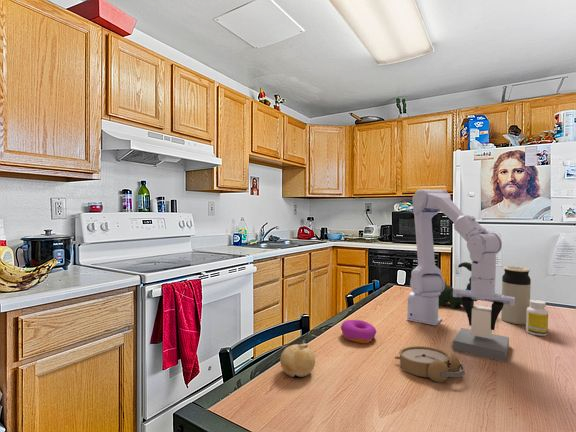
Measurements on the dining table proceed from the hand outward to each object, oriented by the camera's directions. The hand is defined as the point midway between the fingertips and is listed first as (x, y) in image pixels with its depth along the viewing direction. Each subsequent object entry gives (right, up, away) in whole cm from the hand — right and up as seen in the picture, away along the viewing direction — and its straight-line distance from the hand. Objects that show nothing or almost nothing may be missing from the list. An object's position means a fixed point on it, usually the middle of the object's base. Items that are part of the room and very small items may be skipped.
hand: (481, 326), depth 94 cm
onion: (-51, -6, -15) cm, 53 cm away
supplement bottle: (+23, -6, +12) cm, 27 cm away
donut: (-32, -6, +7) cm, 34 cm away
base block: (0, -6, 0) cm, 6 cm away
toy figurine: (+9, -5, +41) cm, 42 cm away
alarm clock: (-19, -7, -13) cm, 24 cm away
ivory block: (0, -2, 0) cm, 2 cm away
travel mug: (+24, -5, +22) cm, 33 cm away
